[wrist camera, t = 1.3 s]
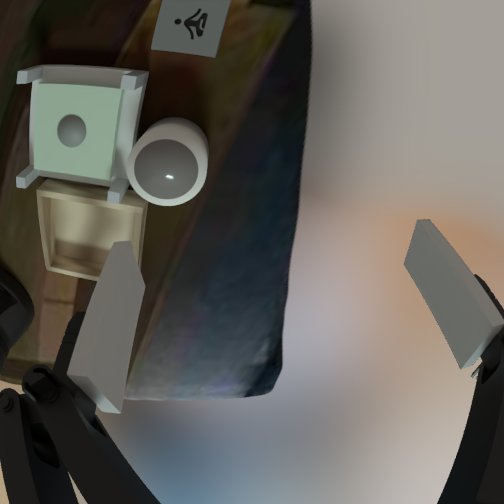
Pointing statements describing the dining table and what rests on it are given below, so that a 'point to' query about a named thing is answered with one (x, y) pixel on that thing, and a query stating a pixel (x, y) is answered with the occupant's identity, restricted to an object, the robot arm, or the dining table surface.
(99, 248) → the trough
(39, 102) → the plate
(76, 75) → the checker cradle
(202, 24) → the dice cube
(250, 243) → the dining table surface
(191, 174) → the cup
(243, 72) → the dining table surface
